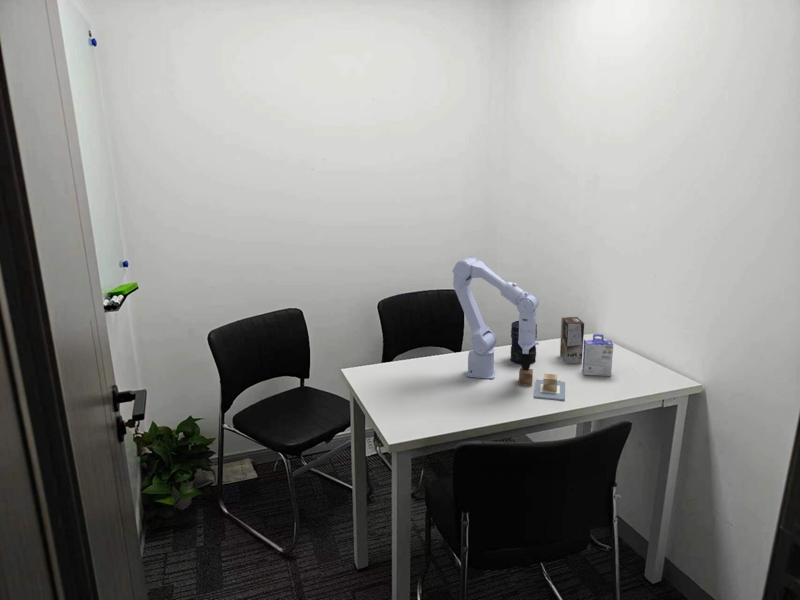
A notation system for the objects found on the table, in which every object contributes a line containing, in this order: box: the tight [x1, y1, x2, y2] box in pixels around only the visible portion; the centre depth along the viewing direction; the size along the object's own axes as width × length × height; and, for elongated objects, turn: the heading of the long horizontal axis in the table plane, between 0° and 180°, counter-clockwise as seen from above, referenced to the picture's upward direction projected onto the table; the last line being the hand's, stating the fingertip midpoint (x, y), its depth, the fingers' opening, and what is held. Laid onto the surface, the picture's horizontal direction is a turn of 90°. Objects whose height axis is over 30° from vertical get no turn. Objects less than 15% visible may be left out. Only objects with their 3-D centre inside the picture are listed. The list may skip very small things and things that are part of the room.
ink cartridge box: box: [581, 333, 614, 377], centre depth 195 cm, size 10×6×14 cm, turn 78°
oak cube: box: [542, 373, 558, 392], centre depth 183 cm, size 4×4×4 cm
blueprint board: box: [533, 379, 566, 402], centre depth 184 cm, size 10×14×1 cm
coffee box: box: [559, 316, 585, 364], centre depth 209 cm, size 9×6×16 cm
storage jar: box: [510, 320, 538, 366], centre depth 209 cm, size 10×10×15 cm
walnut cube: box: [518, 367, 534, 387], centre depth 191 cm, size 4×4×4 cm
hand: (526, 365), depth 190 cm, fingers open, 7 cm apart
